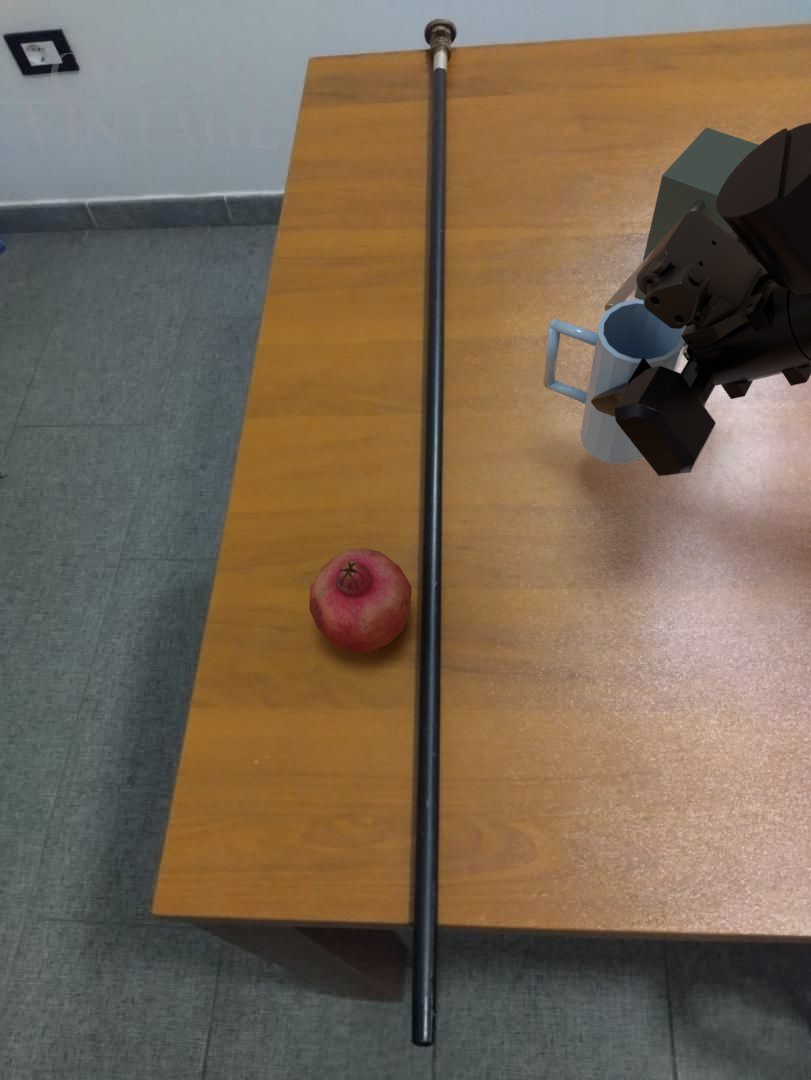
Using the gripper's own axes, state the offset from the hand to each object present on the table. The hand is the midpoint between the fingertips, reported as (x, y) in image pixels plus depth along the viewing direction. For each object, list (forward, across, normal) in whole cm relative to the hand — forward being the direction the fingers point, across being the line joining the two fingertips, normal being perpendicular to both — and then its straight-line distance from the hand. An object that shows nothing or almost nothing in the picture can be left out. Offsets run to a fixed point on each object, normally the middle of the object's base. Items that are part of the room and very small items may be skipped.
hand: (613, 375), depth 57 cm
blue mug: (+5, 0, +4) cm, 7 cm away
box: (+10, -18, +7) cm, 22 cm away
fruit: (+16, +23, +2) cm, 28 cm away
